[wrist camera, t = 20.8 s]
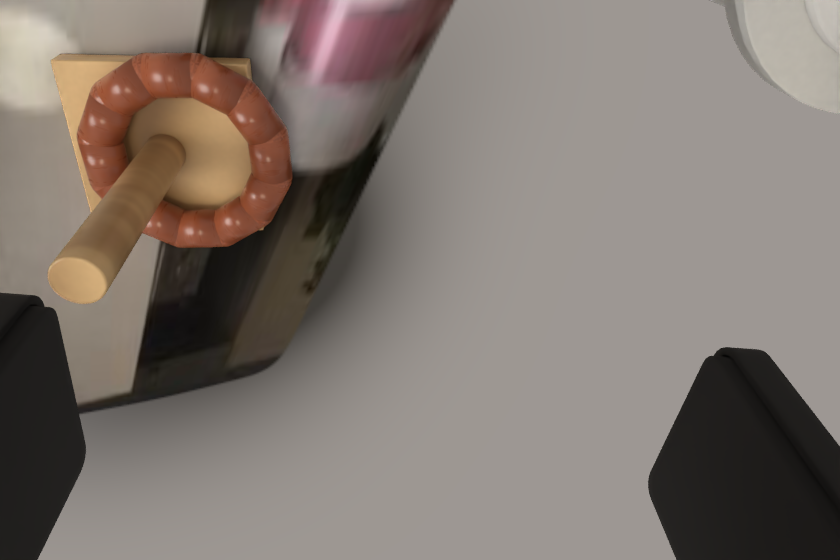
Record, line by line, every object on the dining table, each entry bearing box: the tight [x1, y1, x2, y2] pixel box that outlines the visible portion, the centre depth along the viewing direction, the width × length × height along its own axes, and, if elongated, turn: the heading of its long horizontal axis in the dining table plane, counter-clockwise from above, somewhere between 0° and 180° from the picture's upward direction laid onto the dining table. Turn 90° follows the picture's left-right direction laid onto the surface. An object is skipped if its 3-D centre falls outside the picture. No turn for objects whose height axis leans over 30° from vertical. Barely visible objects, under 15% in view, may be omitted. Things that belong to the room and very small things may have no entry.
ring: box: [77, 53, 293, 248], centre depth 32 cm, size 10×10×2 cm
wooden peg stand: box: [48, 54, 264, 304], centre depth 28 cm, size 9×9×13 cm
